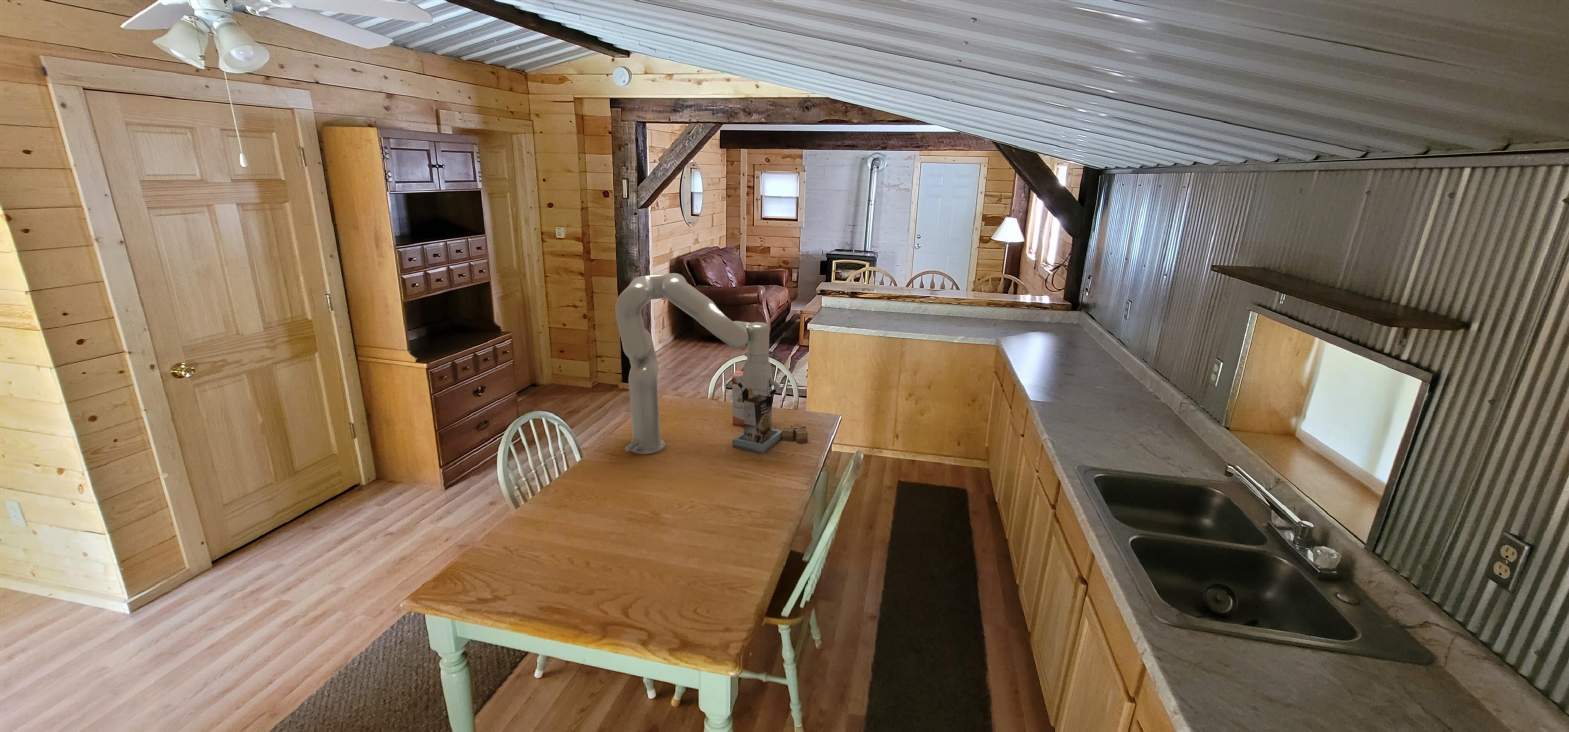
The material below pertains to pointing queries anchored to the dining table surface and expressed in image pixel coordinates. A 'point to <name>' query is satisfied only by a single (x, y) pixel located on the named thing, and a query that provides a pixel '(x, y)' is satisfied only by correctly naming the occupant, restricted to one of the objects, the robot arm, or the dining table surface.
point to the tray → (757, 447)
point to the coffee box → (757, 419)
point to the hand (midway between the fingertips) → (757, 403)
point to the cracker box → (740, 399)
